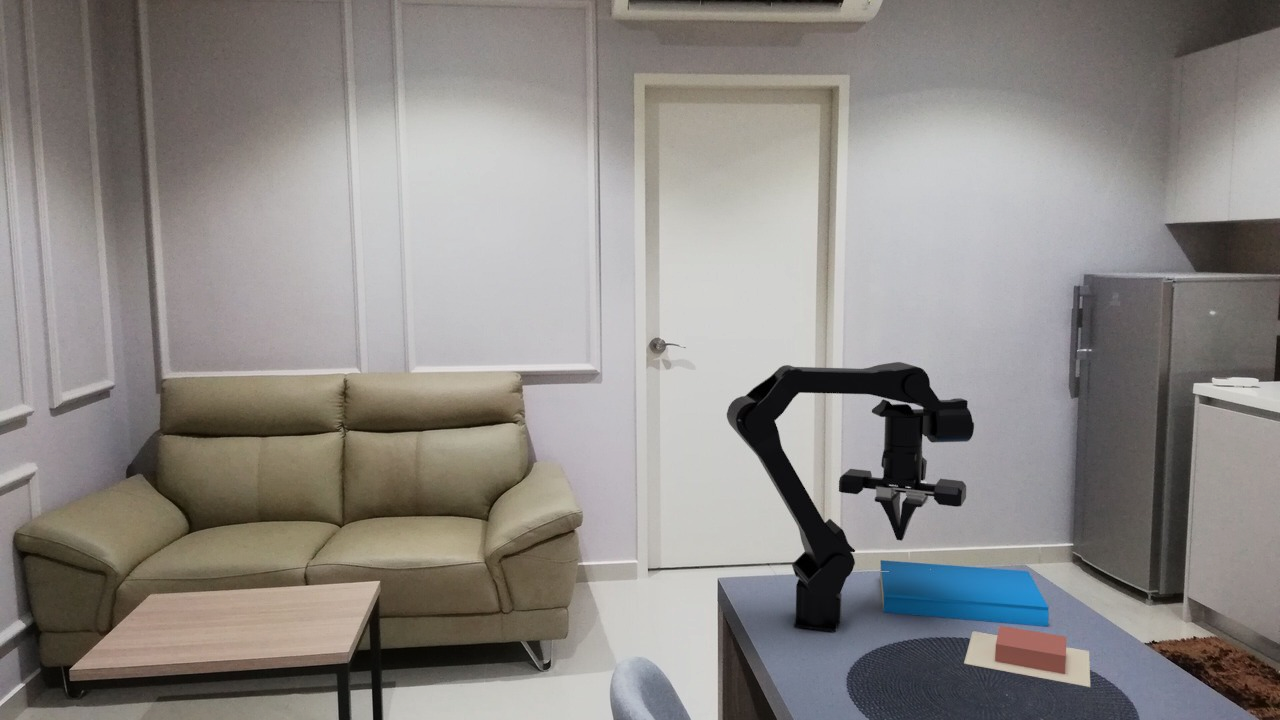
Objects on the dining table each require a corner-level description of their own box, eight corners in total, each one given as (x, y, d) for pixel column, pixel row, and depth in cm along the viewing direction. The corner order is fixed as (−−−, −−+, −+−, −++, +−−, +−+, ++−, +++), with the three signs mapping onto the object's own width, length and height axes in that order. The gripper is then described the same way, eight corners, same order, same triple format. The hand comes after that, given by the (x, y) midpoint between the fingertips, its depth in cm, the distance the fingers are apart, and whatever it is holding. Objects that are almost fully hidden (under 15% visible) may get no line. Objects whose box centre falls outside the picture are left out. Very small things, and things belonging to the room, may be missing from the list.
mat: (963, 666, 126) (963, 663, 126) (972, 634, 137) (972, 631, 137) (1090, 690, 119) (1090, 686, 119) (1088, 654, 130) (1089, 651, 130)
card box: (995, 643, 127) (1065, 656, 123) (999, 625, 133) (1066, 636, 129) (995, 661, 127) (1064, 674, 123) (998, 642, 133) (1065, 653, 129)
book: (879, 560, 160) (1028, 568, 155) (878, 583, 161) (1027, 592, 155) (883, 595, 144) (1050, 606, 138) (883, 621, 144) (1049, 632, 139)
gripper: (973, 439, 143) (969, 534, 145) (856, 429, 151) (854, 518, 153) (962, 453, 133) (958, 554, 135) (839, 441, 142) (836, 536, 143)
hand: (899, 539), depth 142 cm, fingers closed
